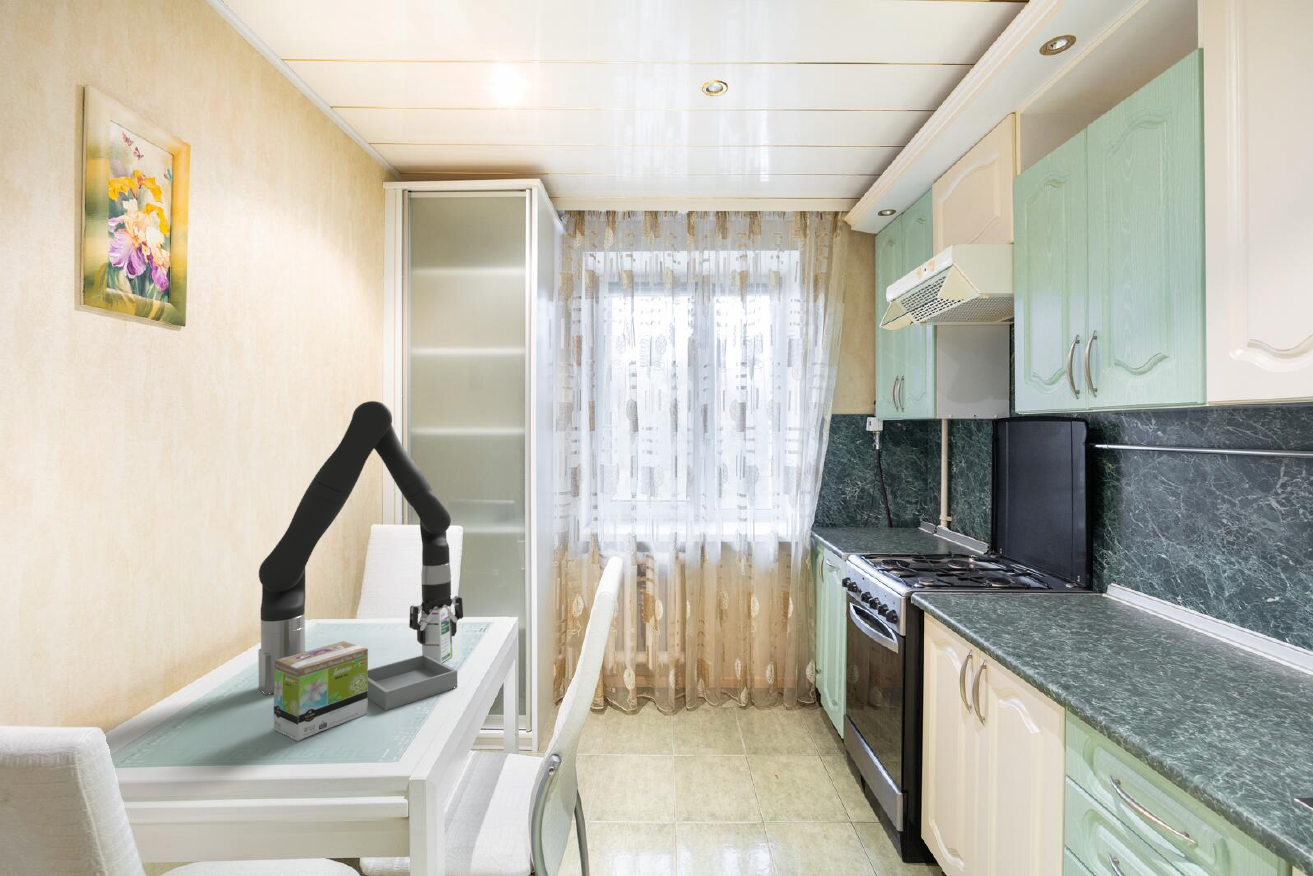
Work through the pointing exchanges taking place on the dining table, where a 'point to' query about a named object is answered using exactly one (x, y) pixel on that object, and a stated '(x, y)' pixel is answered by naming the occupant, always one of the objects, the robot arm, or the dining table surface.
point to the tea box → (320, 689)
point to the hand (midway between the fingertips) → (437, 639)
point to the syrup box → (438, 635)
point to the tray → (409, 681)
